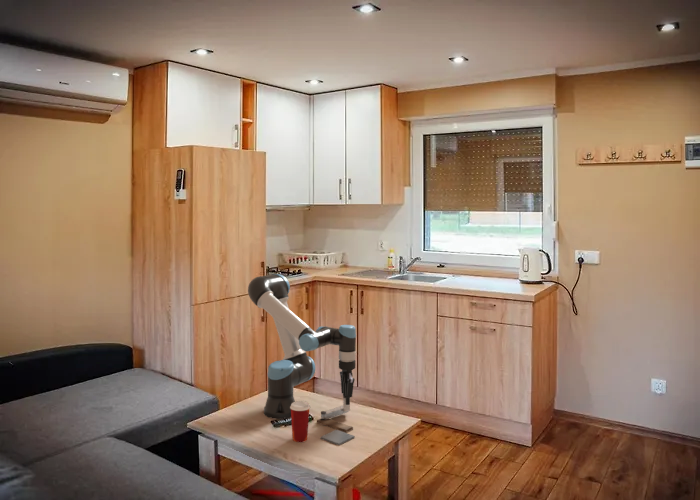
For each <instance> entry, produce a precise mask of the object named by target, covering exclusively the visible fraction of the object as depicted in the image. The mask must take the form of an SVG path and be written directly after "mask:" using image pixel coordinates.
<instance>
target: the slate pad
mask: <svg viewBox="0 0 700 500" xmlns="http://www.w3.org/2000/svg"><path fill="white" fill-rule="evenodd" d="M353 439H355V435H353V434H351V433H350V434H349V433H348V432H347V433H346V432H343V431H340V430H337V429H335V430H332V431H330V432H328V433H325V434H323V435H322V436H320V440H323V441H326V442H328V443H331V444H334V445H337V446H341V445H343V444H345V443H347V442H349V441H351V440H353Z"/></svg>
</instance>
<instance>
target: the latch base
mask: <svg viewBox="0 0 700 500" xmlns="http://www.w3.org/2000/svg"><path fill="white" fill-rule="evenodd" d="M316 423H317V424H320V425H323V426H325V427H326V426H327V427H328V428H332V429H335V430H339V431H342V432H345V433H347V434H348V432H350V431H352V430H353V431H354V429H353V428H354V427H353V426H352V425H349V424H346V423H342V422H339V421H336V420H334V419H332V418H329V419H326V420H325V419H323V418H321V417H319V418H317V419H316Z"/></svg>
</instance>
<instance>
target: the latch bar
mask: <svg viewBox="0 0 700 500" xmlns="http://www.w3.org/2000/svg"><path fill="white" fill-rule="evenodd" d="M349 412H350V411H346V412H344V411H343V405H340V406H337V407H333V408H331V409H327V410H322V411H320V418H323V419H325V420H326V419H332V418H335V417H338V416H342V415H343V414H348V413H349Z"/></svg>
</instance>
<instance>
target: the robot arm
mask: <svg viewBox="0 0 700 500" xmlns="http://www.w3.org/2000/svg"><path fill="white" fill-rule="evenodd" d="M290 290H291V286H290V281H289V280H288V279H287V277H286V276H285V275H282V274H280V273H272V274H267V275H263V276H262V275H260V276H256V277H254V278H253V279H251V281H250V282H249V284H248V286H247V294H248V298H249V299H250V300H251V302H253V304H254V305H255V306H257V308H259V309H263V310H265V312H266V313H268V314H269V315H270V316H271V317H272V319H273V322H274V326H275V328H276V332H277V333H278V337H279V341H280V344H281V347H282V351H283V354H284V356H283V358H282V359H280V360H275V361H273V362H271V363H270V364H269V365H268V367H267V398H266V401H265V405H264V407H263V414H264V416H265V417H267V418H270V419H279V420H280V419H281V420H283V418H284V419H288V418H289V417H290V418H291V408H290V406H291V404H292V403H293V402H296V401H295V400H296V399H295V397H294V387H296V386H298V385H301V384H303V383H306V382H308V381H310V380H311V379H312V378H313V377H314V375H315V374H316V364H315V361H314V360H313V358H312V357H311V356H308V355H307V352H312V351H315V350H317V349H320V348H322V347H325V346H328V345H334V346H338V359H339V360H338V369H340V371H339V375H340V387H341V394H342V396H343V401H342V403H343V404H342V406H343V411H344V412H346V411H349V412H350V411H351V398H353V391H354V384H355V378H354V377H353V370H355V369H356V354H357V351H356V346H357V345H356V340H357V339H356V338H357V335H356V334H357V333H356V332H357V331H356V326H355V325H353V324H352V325H351V324H341V325H339V327H338V328H336V327H329V326H326V325H325V326H322V325H321V326H319V327H317V328H316V330H313V329H312V328H311V327H310V326H309V325H308V324H307V323H306V322H305V321H304V320H303V319H301V318H300V317H298V315H297V314H295V313H294V312H293V311H292V310H290V308H289V307H290V306H289V304H288V301H289V294H290Z"/></svg>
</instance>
